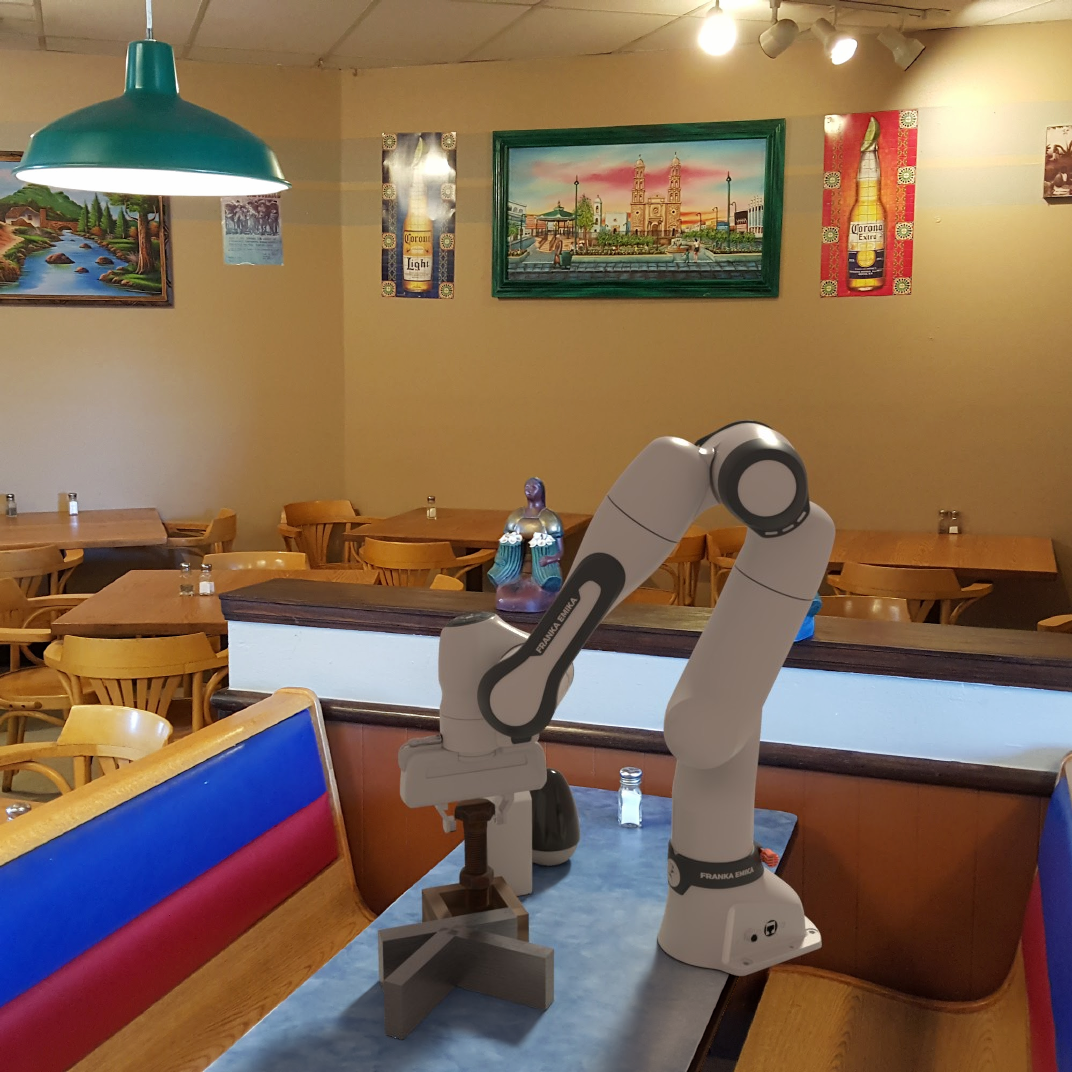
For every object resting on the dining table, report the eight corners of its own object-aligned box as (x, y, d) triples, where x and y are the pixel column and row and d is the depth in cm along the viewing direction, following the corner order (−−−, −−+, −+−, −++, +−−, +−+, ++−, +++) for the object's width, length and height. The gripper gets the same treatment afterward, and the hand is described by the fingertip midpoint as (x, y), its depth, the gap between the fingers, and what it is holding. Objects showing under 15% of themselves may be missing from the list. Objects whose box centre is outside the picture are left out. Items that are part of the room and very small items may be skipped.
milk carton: (473, 881, 174) (471, 764, 171) (516, 874, 177) (515, 758, 174) (487, 902, 168) (486, 780, 164) (532, 894, 170) (532, 774, 167)
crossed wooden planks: (522, 953, 153) (522, 904, 152) (558, 1007, 140) (559, 955, 139) (365, 982, 146) (363, 932, 145) (388, 1043, 133) (386, 988, 132)
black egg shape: (503, 855, 183) (503, 765, 181) (556, 840, 189) (556, 753, 186) (538, 879, 175) (538, 785, 172) (592, 862, 180) (593, 771, 178)
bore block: (502, 907, 166) (501, 875, 165) (528, 947, 155) (528, 913, 154) (422, 921, 162) (421, 889, 161) (444, 963, 151) (443, 928, 150)
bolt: (489, 918, 154) (487, 814, 152) (454, 915, 155) (451, 811, 153) (499, 898, 160) (497, 797, 157) (465, 895, 161) (462, 795, 158)
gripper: (402, 747, 147) (406, 847, 149) (550, 728, 154) (551, 824, 156) (392, 733, 153) (396, 829, 155) (534, 714, 160) (536, 807, 162)
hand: (475, 826), depth 156 cm, fingers closed on bolt, 6 cm apart
